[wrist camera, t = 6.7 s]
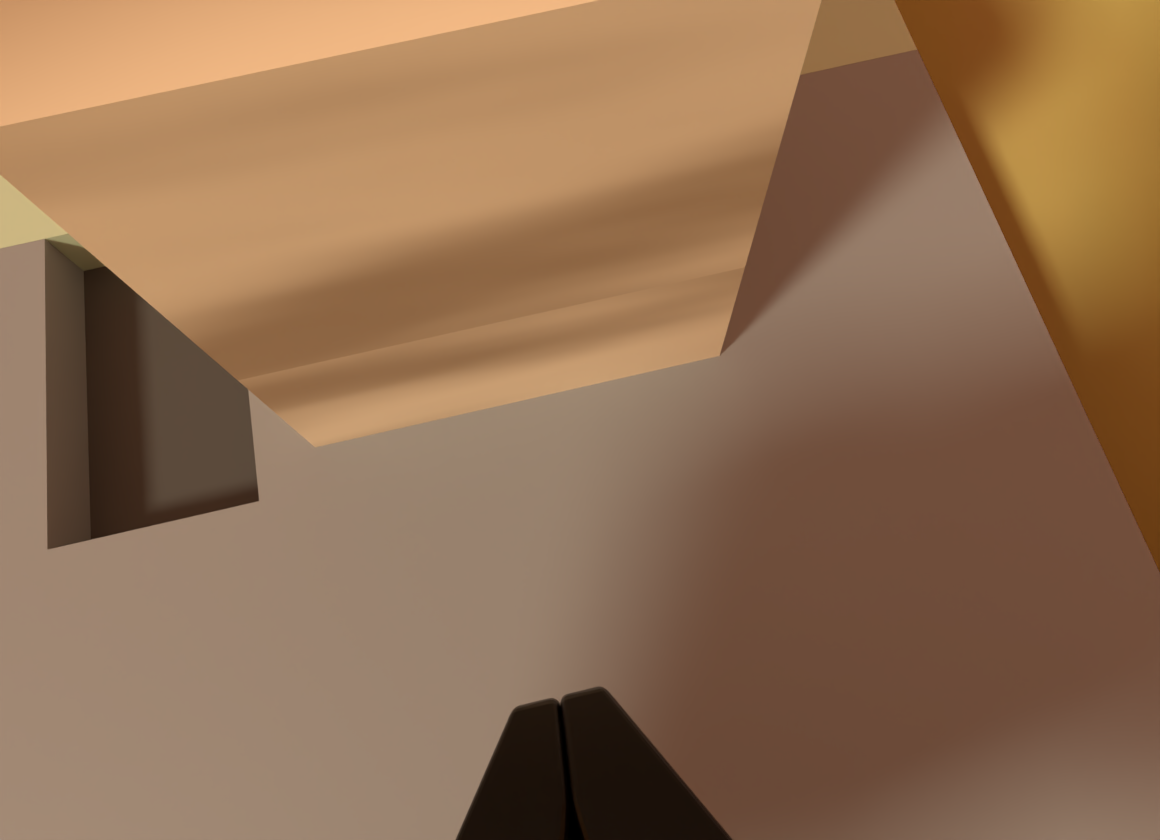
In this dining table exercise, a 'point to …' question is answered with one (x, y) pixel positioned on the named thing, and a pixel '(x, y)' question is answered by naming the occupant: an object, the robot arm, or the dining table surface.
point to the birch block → (409, 183)
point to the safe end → (840, 37)
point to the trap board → (597, 551)
